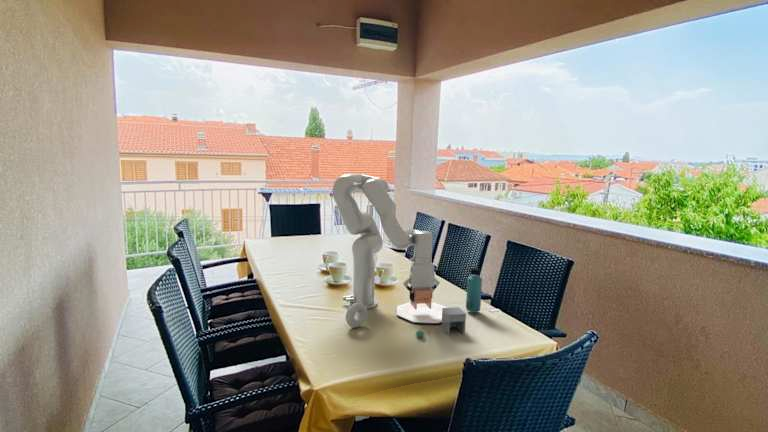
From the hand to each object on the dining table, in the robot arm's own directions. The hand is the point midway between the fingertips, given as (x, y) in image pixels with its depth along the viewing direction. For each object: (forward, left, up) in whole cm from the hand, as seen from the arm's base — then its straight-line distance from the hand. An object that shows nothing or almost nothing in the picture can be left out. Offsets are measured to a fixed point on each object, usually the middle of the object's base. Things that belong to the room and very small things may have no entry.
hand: (420, 300), depth 171 cm
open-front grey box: (+8, -17, -7) cm, 20 cm away
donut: (-29, -8, -7) cm, 31 cm away
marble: (-7, -21, -7) cm, 23 cm away
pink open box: (0, 0, -3) cm, 3 cm away
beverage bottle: (+24, -1, -7) cm, 25 cm away
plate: (+2, +1, -7) cm, 8 cm away
